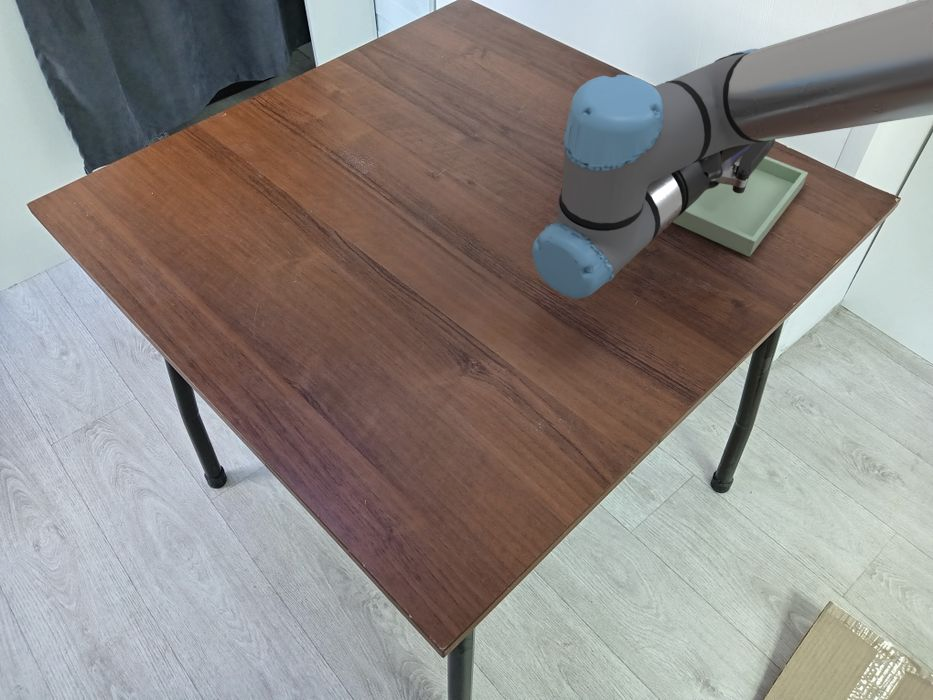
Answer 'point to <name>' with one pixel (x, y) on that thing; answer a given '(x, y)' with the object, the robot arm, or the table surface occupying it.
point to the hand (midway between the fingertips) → (768, 89)
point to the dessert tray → (744, 207)
